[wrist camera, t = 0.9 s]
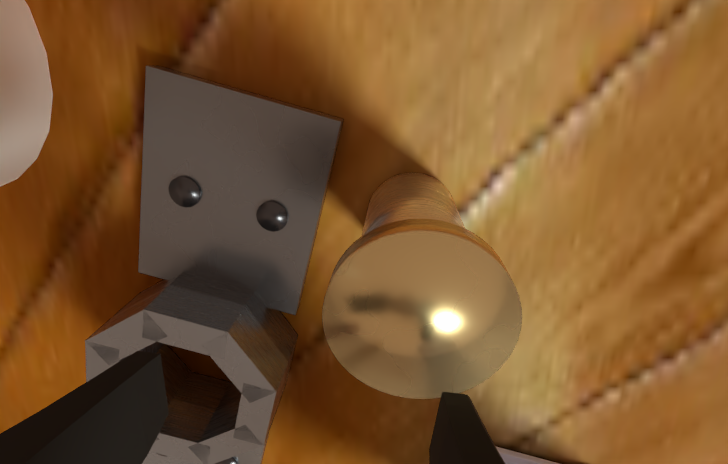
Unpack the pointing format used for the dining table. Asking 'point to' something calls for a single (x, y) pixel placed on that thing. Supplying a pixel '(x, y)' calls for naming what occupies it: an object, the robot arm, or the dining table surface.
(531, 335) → the dining table surface
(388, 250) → the hinge pin
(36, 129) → the honey pot
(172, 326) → the bracket
